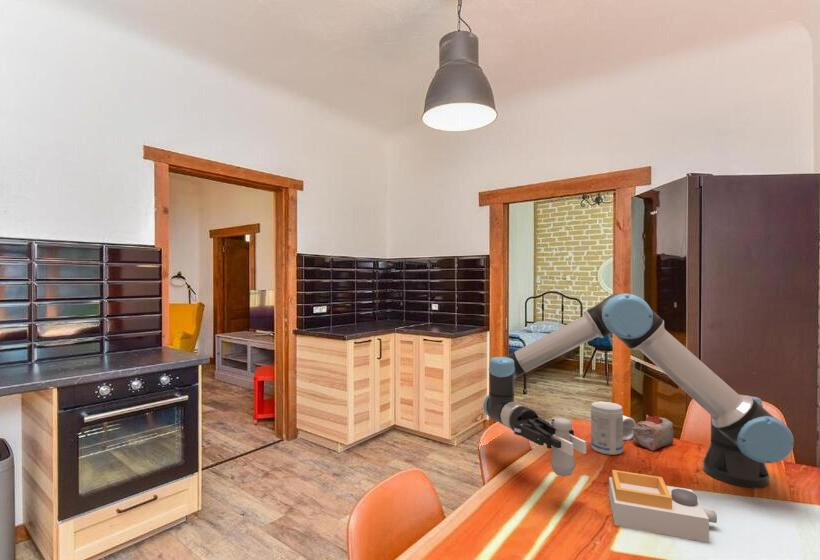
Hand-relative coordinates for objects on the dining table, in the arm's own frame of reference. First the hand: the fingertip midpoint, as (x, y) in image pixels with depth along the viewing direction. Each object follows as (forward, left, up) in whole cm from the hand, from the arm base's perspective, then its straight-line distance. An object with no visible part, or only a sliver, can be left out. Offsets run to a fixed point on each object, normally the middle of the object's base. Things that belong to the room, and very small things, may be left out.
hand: (578, 448), depth 101 cm
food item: (-25, -58, -16) cm, 65 cm away
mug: (-13, -62, -16) cm, 65 cm away
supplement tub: (-10, -47, -16) cm, 51 cm away
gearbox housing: (-18, -6, -16) cm, 25 cm away
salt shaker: (+3, -4, -8) cm, 10 cm away
